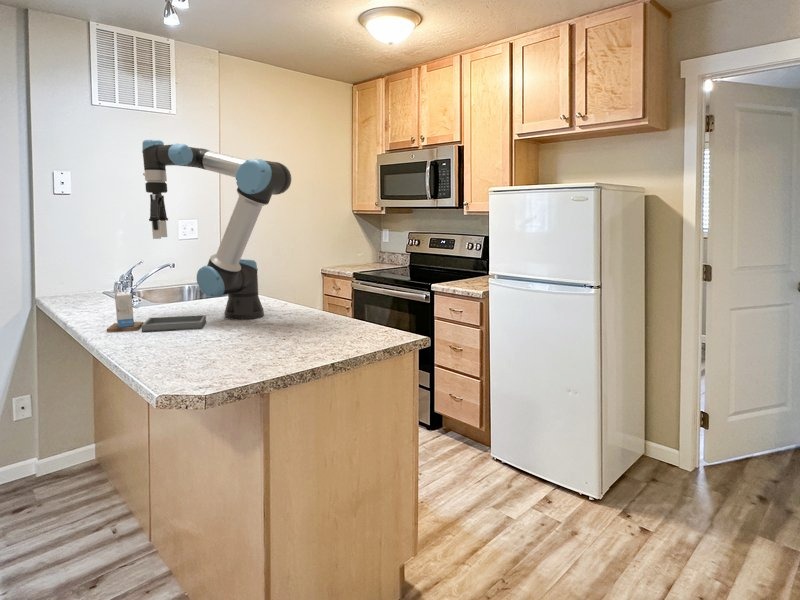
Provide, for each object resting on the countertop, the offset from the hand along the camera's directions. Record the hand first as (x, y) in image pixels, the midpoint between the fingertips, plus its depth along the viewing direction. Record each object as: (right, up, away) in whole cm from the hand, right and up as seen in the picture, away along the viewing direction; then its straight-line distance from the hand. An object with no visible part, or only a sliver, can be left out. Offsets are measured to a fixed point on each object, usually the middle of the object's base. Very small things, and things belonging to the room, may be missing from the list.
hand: (160, 238), depth 206 cm
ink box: (-6, -33, -14) cm, 37 cm away
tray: (+11, -34, -11) cm, 37 cm away
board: (-6, -34, -14) cm, 38 cm away
